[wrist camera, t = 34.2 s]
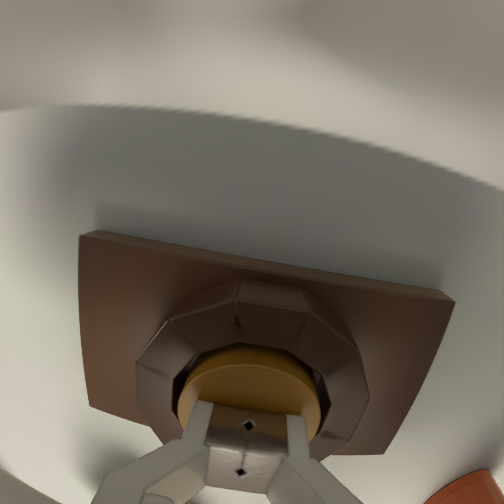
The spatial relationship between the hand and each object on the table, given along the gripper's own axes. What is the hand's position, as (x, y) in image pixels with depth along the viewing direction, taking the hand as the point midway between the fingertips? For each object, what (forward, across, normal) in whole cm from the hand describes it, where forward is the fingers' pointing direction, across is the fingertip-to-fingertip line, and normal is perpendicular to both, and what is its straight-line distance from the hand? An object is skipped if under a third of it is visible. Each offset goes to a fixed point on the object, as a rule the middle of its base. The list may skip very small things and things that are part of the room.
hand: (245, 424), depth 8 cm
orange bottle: (+4, -17, +11) cm, 21 cm away
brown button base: (+4, 0, 0) cm, 4 cm away
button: (+2, 0, 0) cm, 2 cm away
